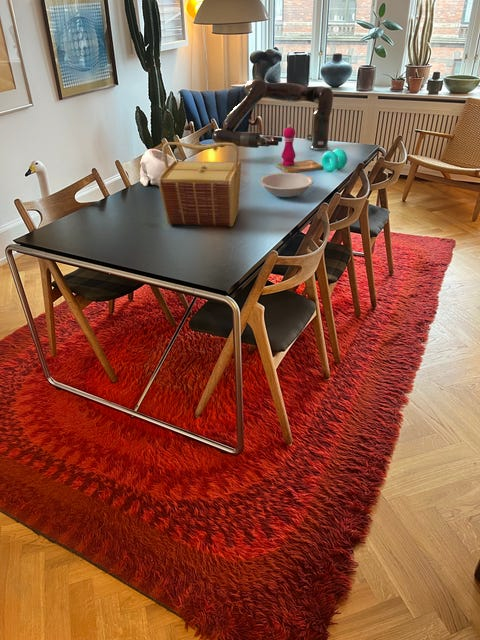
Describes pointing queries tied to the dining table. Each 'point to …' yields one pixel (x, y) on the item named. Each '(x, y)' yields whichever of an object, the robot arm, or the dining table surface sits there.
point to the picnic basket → (200, 189)
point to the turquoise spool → (334, 160)
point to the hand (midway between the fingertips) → (280, 141)
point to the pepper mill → (288, 147)
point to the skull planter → (153, 166)
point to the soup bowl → (286, 184)
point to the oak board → (301, 166)
